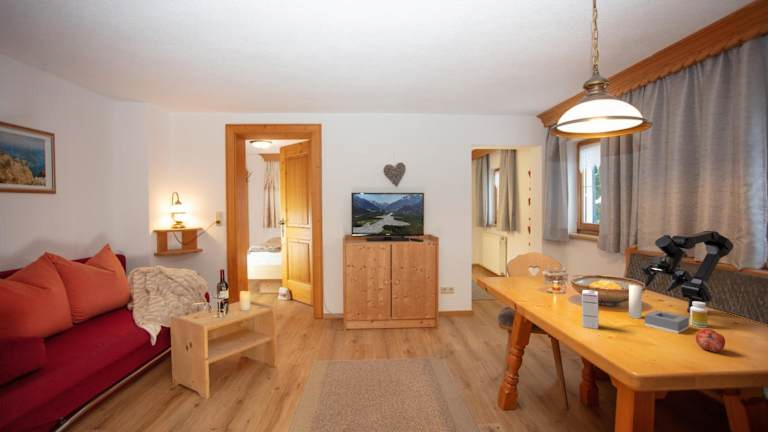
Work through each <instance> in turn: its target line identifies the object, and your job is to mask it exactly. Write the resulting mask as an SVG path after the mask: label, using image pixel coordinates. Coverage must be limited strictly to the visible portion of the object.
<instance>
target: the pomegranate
mask: <svg viewBox="0 0 768 432" xmlns="http://www.w3.org/2000/svg"><path fill="white" fill-rule="evenodd" d="M695 341H696V343H697V345H698V346H699V347H700V348H702V350H705V351H710V352H715V353H718V352H721V351H723V350H724V348H725V345H726V339H725V337H724V336H723V335H722V334H721V333H719V332H717V331H715V330H714V329H711V328H706V329H705V328H703V329H702V330H700V331H697V333H696V334H695Z"/></svg>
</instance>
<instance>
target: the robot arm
mask: <svg viewBox="0 0 768 432" xmlns="http://www.w3.org/2000/svg"><path fill="white" fill-rule="evenodd" d="M702 243H703V244H704V245H705V250H706V252H707V253H706V255H705V256H704V258H703V260H702V261H701V263H700V265H699V266H698V268H697V269H696V272H695V273H694V275H693V276H692V275H691V274H690V272H688V271H687V270H684V269H678V268H681V265H680V264H681V262H682V260H683V258H688V254H687V253H686V250H691V249H693V248H695V247H696V245H698V244H702ZM654 244H655V246H656V247H657V248H658V249H659V250H660V251H661V252H662V253H663V254H665V256H664V257H662V256H661V257H658V256H652V257H651V261H650V264H645V263H643V264H641V265H640V267H639V268H640V270H641V271H642V272H643V273H644V277H645V278H644V281H645V283H644V287H649V286H650V284H652V282H653V281H654V279H655V278H656V275H657V274H658V275H659V274H660V275H666V276H672V277H671V280H670V282H669V284H668V286H667V288H666V291H667V292H671V291H672V290H674V289H676V288H678V287H680V286H681V288H680V289H681V290H680V291H681V293H682V297H683V298H687V299H688V303H687V304H688V307H687V308H686V312H687V313H690V307H692V306H693V305H692V302H693V301H698V302H703V303H705V304H706V302H707V303H710V302H711V301H712V295H711V294H710V292H709V286H708V284H707V282H708V281H709V280H710V277H711V276H712V274H713V272H714V270H715V269H716V267H717V265H718V263H719V262H720V260H721V259H722V258H724V257H725V256H727V255H728V256H729V254H730V253H731V252H732V250H733V249H734V244H733V242H732V241H731V240H730V239H729V237H725V236H724V235H721V234H720V233H719V232H718V231H715V230H703V231H701V232H697V233H693V234H690V235H673V236H670V234H664V235H663V236H661V237H659V238H657V239H656V240H655V241H654ZM653 265H655V267H656V268H655V267H654V266H653Z"/></svg>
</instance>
